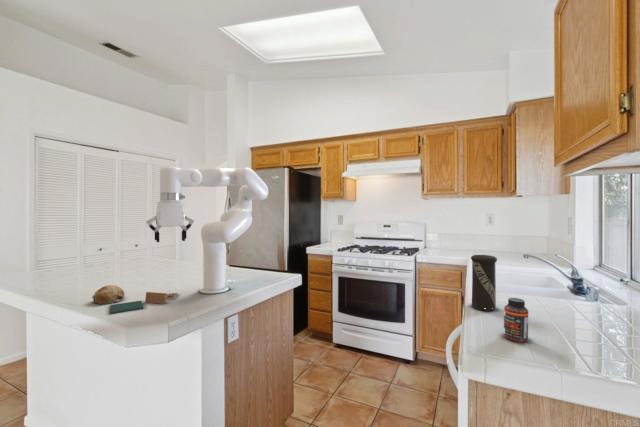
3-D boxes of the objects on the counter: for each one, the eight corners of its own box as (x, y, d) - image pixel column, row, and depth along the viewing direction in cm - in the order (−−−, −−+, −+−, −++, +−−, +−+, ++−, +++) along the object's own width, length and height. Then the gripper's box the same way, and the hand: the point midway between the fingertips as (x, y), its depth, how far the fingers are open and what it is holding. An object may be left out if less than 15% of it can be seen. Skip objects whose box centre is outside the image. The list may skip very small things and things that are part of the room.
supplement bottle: (500, 338, 87) (501, 299, 87) (506, 332, 92) (507, 295, 91) (525, 345, 83) (525, 303, 83) (530, 338, 87) (530, 299, 87)
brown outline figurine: (164, 303, 119) (184, 299, 130) (165, 293, 119) (185, 289, 131) (145, 302, 121) (166, 297, 132) (146, 292, 121) (167, 288, 133)
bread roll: (107, 314, 117) (116, 295, 117) (83, 302, 117) (92, 283, 117) (124, 305, 127) (132, 288, 127) (102, 295, 127) (110, 278, 127)
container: (473, 310, 112) (473, 256, 112) (468, 303, 120) (469, 252, 120) (499, 312, 109) (500, 257, 109) (493, 305, 118) (493, 253, 118)
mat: (141, 302, 121) (141, 300, 121) (143, 308, 113) (143, 307, 113) (110, 306, 115) (110, 304, 115) (110, 313, 107) (110, 312, 107)
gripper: (191, 198, 129) (192, 239, 129) (144, 197, 119) (145, 241, 120) (195, 198, 123) (195, 241, 123) (146, 197, 113) (146, 243, 113)
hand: (170, 241), depth 121 cm, fingers open, 8 cm apart
